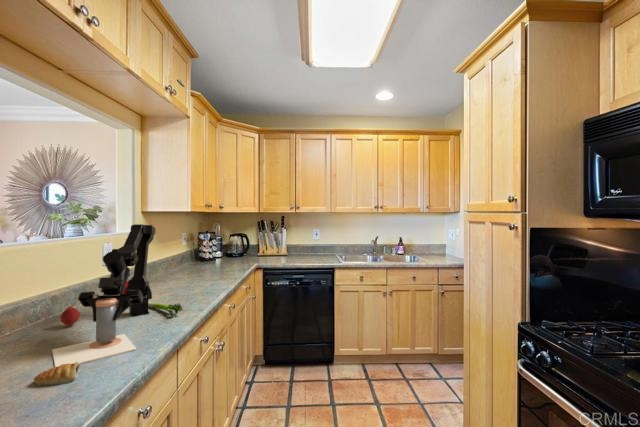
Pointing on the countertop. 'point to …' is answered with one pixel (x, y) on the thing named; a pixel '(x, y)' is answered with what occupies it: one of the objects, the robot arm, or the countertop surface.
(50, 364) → the countertop surface
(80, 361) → the card
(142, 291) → the robot arm
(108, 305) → the tube
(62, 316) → the onion
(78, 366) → the pastry
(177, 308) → the celery
